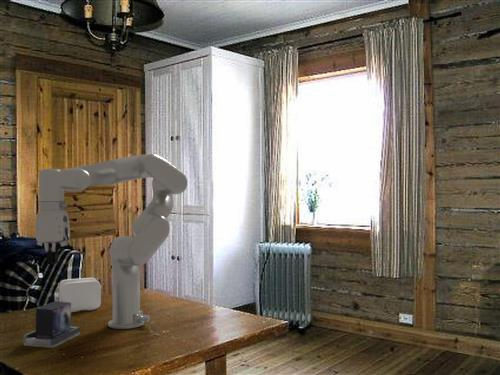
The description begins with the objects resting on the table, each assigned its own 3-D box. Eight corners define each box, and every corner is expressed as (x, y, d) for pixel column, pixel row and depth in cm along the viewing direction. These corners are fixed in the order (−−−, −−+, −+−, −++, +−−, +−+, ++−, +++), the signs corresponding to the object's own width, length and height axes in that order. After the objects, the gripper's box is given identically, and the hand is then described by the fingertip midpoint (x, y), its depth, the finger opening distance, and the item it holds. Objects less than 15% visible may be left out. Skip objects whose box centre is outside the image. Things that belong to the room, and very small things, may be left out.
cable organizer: (61, 313, 198) (61, 283, 198) (59, 307, 207) (59, 279, 207) (100, 309, 204) (100, 280, 204) (97, 304, 214) (96, 276, 214)
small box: (52, 342, 158) (52, 309, 158) (34, 341, 159) (34, 308, 159) (72, 333, 168) (71, 301, 168) (54, 332, 170) (54, 300, 170)
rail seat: (79, 334, 170) (79, 324, 170) (53, 347, 156) (53, 337, 156) (52, 332, 172) (52, 322, 172) (23, 345, 158) (23, 335, 158)
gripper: (79, 206, 166) (79, 262, 166) (39, 206, 169) (40, 261, 169) (65, 207, 158) (66, 266, 158) (24, 207, 162) (25, 264, 162)
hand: (52, 263), depth 164 cm, fingers closed
